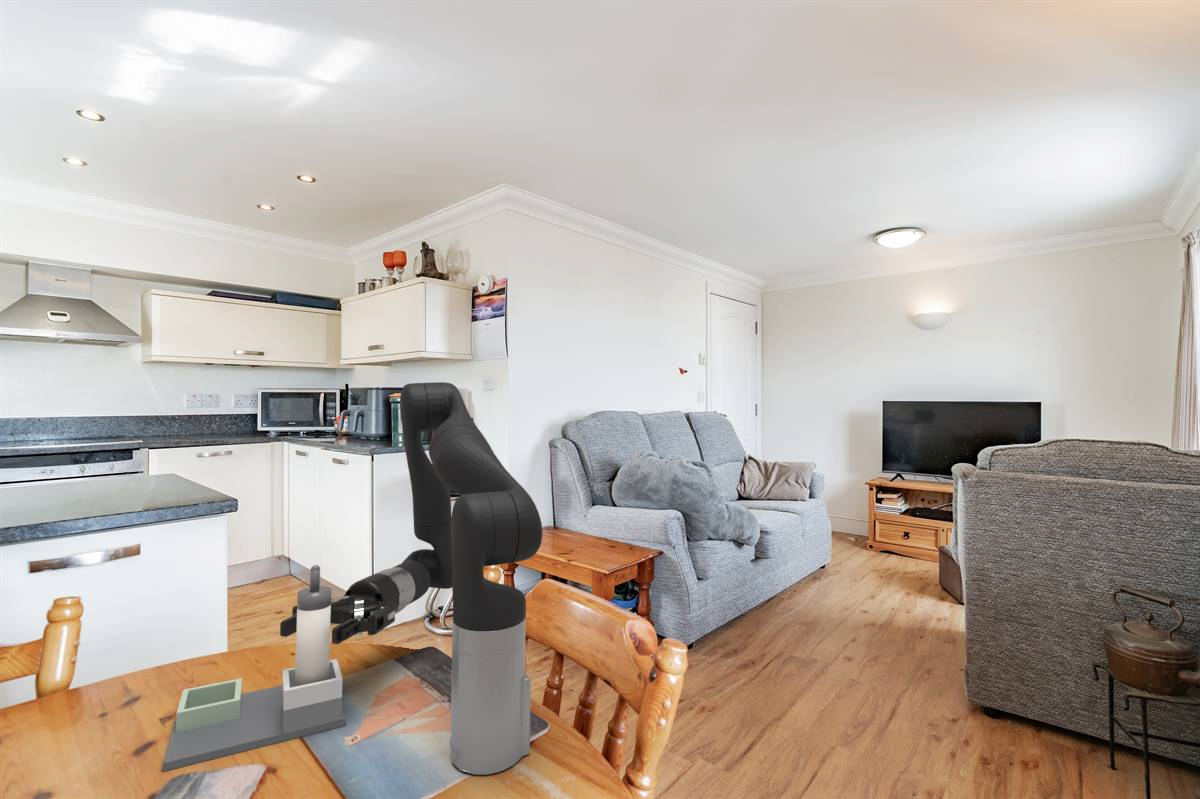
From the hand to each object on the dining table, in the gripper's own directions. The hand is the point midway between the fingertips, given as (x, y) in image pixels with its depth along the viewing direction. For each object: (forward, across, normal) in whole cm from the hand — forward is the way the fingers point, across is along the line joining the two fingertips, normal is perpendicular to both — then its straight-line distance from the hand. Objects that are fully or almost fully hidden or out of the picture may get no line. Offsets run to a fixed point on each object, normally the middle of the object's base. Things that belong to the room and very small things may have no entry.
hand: (307, 633), depth 78 cm
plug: (-1, 0, +8) cm, 9 cm away
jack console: (+1, -7, +12) cm, 14 cm away
